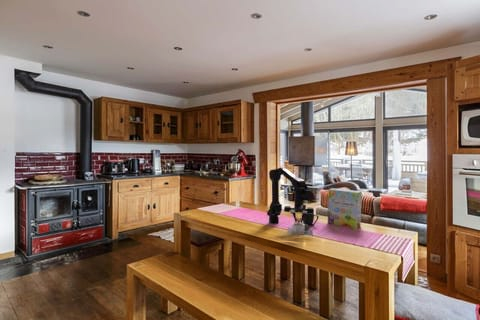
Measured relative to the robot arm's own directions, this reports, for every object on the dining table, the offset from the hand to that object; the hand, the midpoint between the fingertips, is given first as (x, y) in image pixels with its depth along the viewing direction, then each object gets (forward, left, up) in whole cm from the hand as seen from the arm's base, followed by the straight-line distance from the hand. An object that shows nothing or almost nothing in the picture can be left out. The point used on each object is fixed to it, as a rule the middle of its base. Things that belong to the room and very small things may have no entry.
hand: (298, 222), depth 176 cm
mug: (+8, +18, -7) cm, 21 cm away
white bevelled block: (+1, 0, -6) cm, 6 cm away
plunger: (0, 0, -5) cm, 5 cm away
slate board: (+1, 0, -6) cm, 7 cm away
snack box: (+32, +28, -7) cm, 43 cm away
